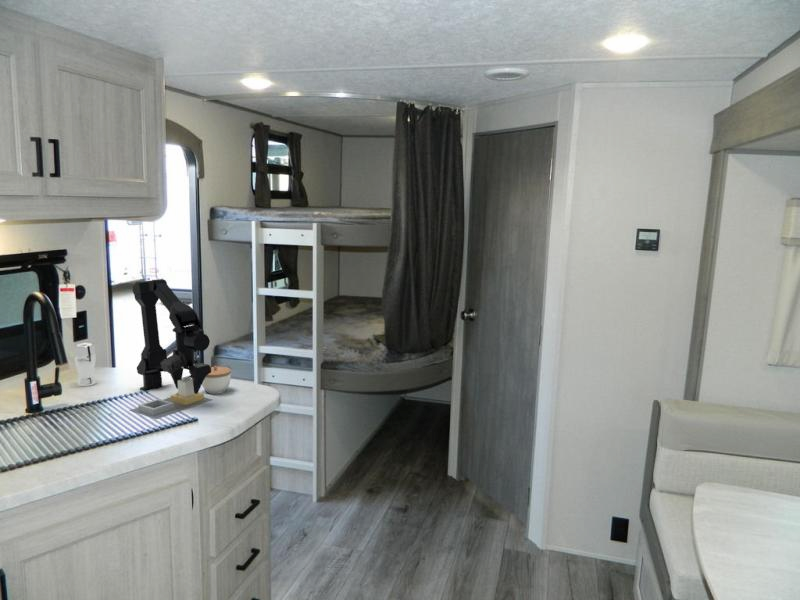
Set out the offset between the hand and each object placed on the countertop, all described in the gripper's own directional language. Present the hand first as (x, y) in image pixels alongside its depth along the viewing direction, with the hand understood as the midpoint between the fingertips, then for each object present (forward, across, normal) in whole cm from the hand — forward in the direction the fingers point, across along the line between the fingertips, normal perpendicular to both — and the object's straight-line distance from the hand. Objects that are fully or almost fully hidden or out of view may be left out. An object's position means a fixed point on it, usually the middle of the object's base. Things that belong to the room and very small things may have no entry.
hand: (187, 390), depth 193 cm
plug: (+3, 0, 0) cm, 3 cm away
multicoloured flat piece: (+4, 0, -6) cm, 7 cm away
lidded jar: (+4, -2, +14) cm, 15 cm away
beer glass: (+4, -48, -7) cm, 49 cm away
